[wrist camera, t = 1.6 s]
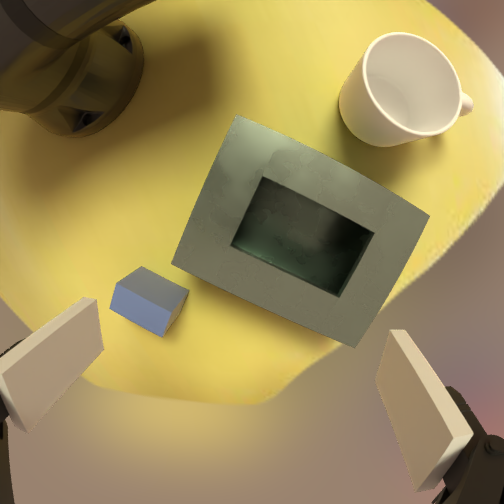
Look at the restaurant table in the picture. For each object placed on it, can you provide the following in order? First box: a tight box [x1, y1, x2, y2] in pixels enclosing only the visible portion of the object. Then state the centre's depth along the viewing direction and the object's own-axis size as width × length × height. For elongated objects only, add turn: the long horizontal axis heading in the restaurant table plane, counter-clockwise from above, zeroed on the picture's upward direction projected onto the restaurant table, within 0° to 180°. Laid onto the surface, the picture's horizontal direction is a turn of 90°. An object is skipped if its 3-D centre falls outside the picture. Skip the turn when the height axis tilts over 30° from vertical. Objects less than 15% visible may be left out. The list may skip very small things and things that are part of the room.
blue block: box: [109, 266, 189, 337], centre depth 31 cm, size 6×3×6 cm, turn 65°
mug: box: [339, 32, 474, 147], centre depth 22 cm, size 12×8×10 cm
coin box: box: [171, 114, 430, 348], centre depth 26 cm, size 16×12×9 cm
